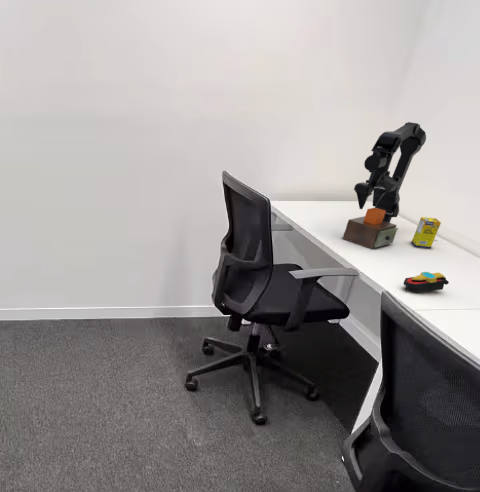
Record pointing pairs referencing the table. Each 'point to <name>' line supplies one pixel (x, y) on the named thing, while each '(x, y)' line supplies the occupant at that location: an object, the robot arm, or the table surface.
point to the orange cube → (374, 216)
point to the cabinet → (364, 231)
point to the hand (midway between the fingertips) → (367, 207)
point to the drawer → (385, 237)
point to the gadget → (425, 282)
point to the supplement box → (426, 232)
